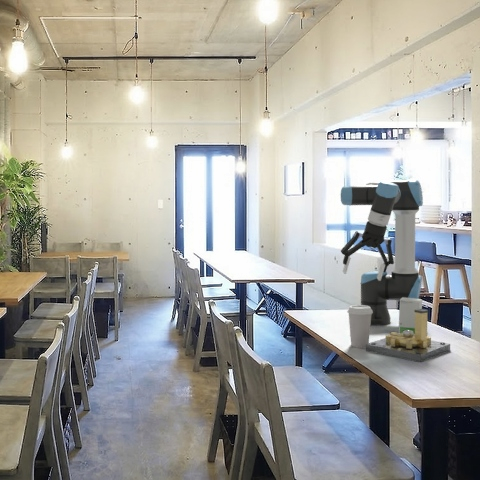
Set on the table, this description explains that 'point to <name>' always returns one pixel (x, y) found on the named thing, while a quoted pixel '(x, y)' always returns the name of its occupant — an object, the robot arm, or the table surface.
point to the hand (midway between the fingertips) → (361, 276)
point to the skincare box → (408, 313)
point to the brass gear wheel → (419, 336)
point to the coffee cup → (359, 325)
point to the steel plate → (406, 353)
